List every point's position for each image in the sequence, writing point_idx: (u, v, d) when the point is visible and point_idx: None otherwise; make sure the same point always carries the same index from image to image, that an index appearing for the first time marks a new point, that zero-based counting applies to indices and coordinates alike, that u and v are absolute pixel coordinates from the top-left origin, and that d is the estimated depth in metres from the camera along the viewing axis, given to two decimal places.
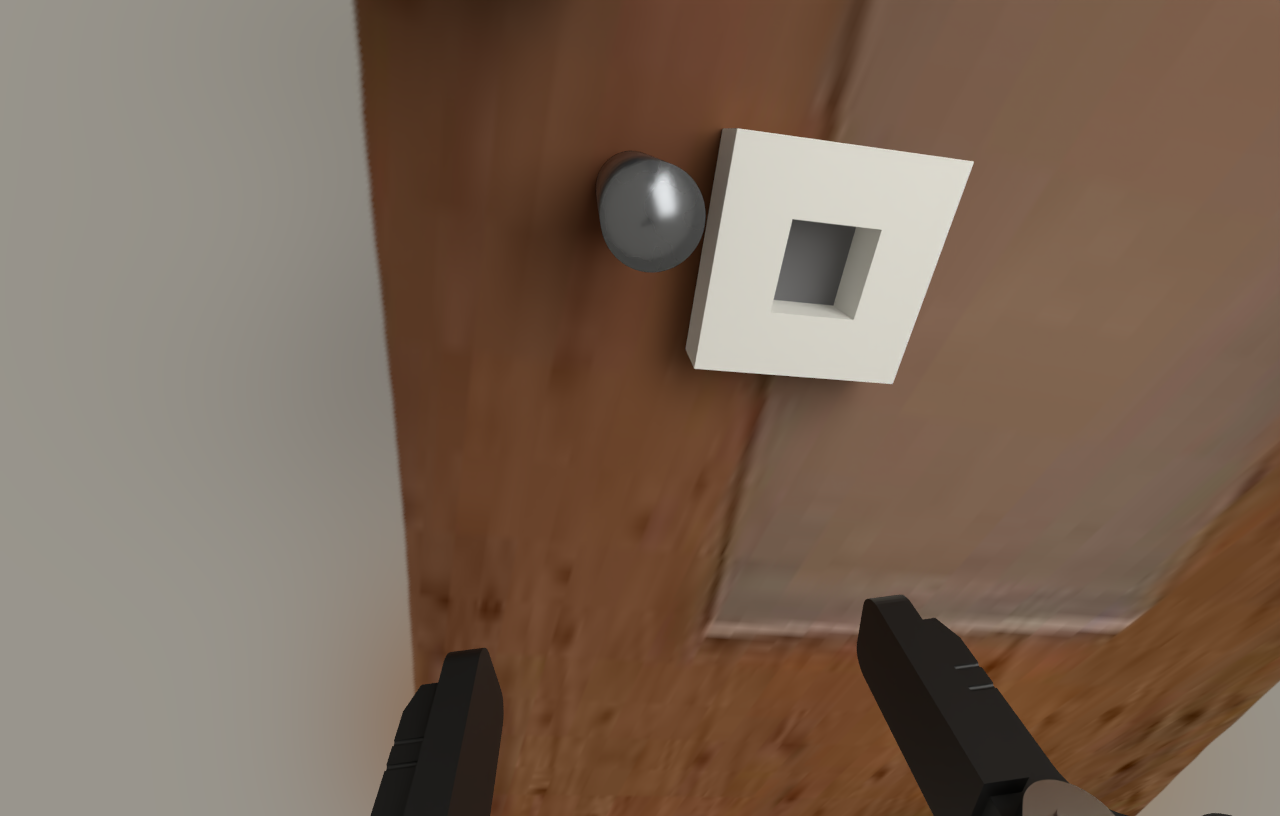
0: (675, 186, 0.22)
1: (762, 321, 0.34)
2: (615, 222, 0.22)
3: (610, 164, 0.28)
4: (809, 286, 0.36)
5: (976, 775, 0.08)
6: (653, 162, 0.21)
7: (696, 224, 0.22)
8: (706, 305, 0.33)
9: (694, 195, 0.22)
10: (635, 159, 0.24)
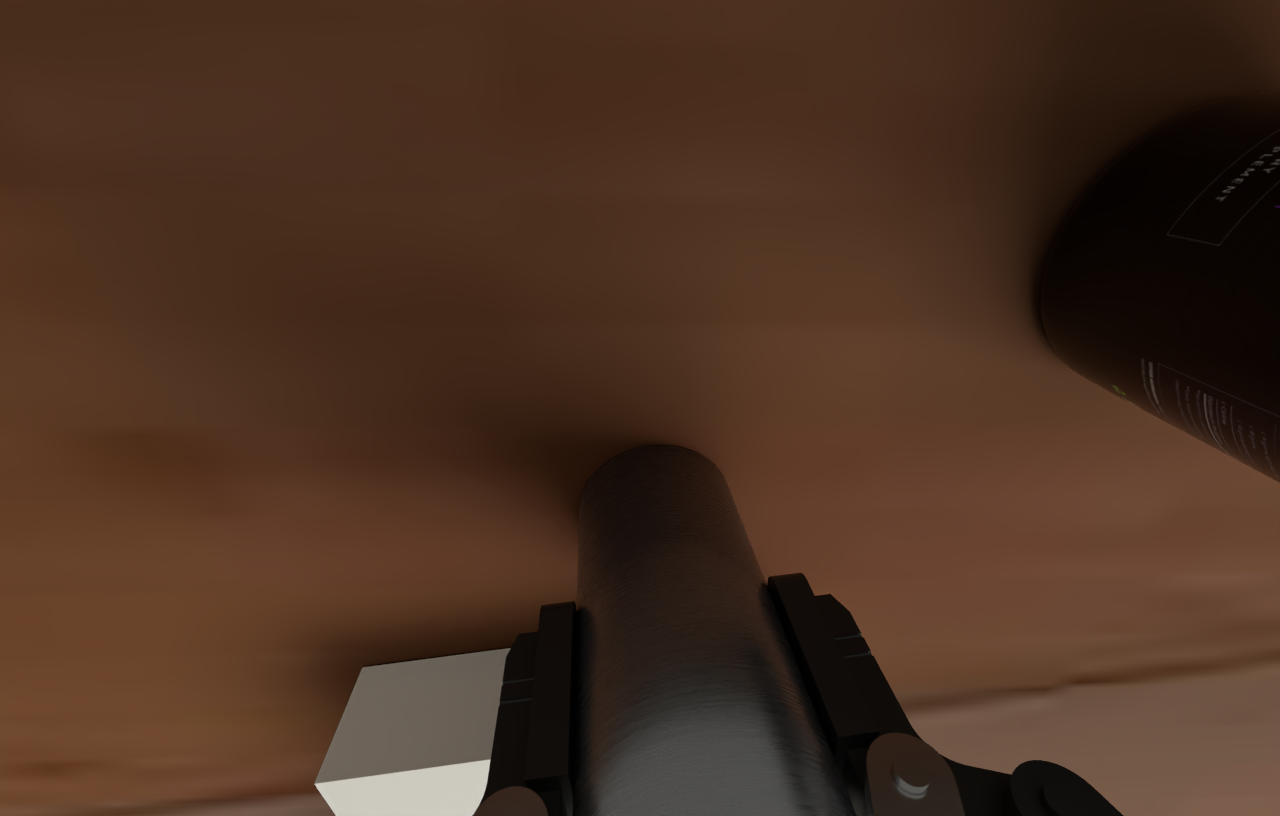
0: None
1: None
2: None
3: (744, 568, 0.11)
4: None
5: (834, 730, 0.09)
6: None
7: None
8: (474, 762, 0.15)
9: None
10: None
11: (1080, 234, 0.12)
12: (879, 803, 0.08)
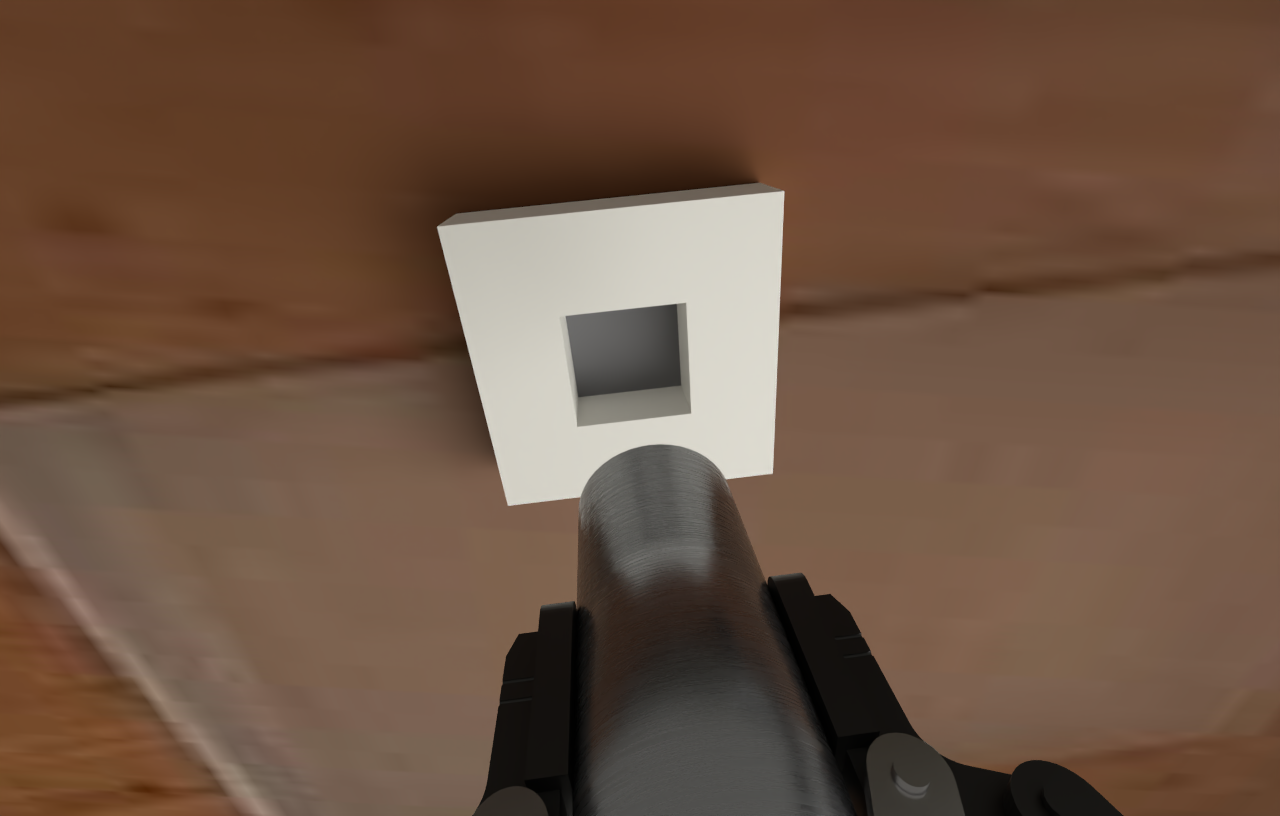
0: None
1: (543, 309, 0.23)
2: None
3: (744, 567, 0.11)
4: (594, 359, 0.28)
5: (834, 730, 0.09)
6: None
7: None
8: (544, 216, 0.21)
9: None
10: None
11: None
12: (879, 803, 0.08)
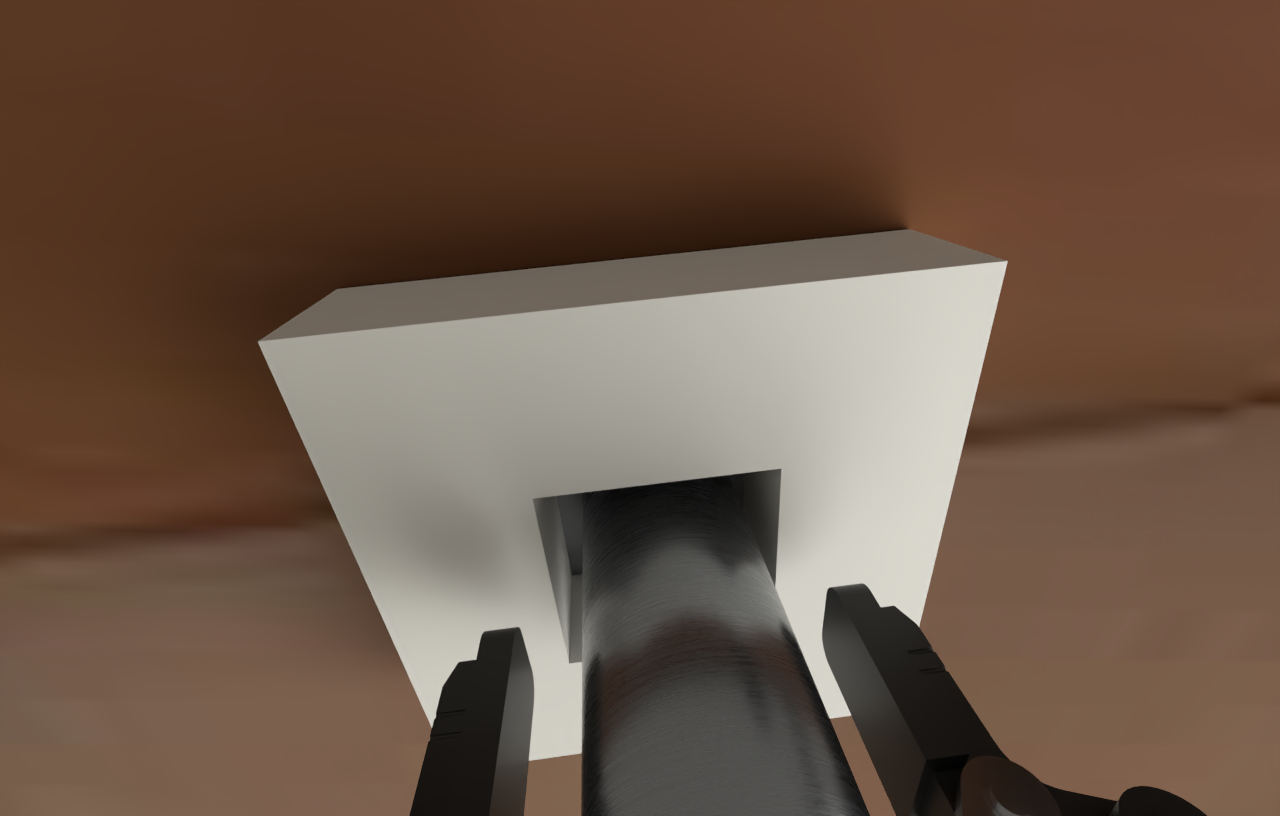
0: None
1: (499, 488, 0.12)
2: None
3: (742, 542, 0.12)
4: None
5: (920, 752, 0.08)
6: None
7: None
8: (495, 318, 0.10)
9: None
10: None
11: None
12: None
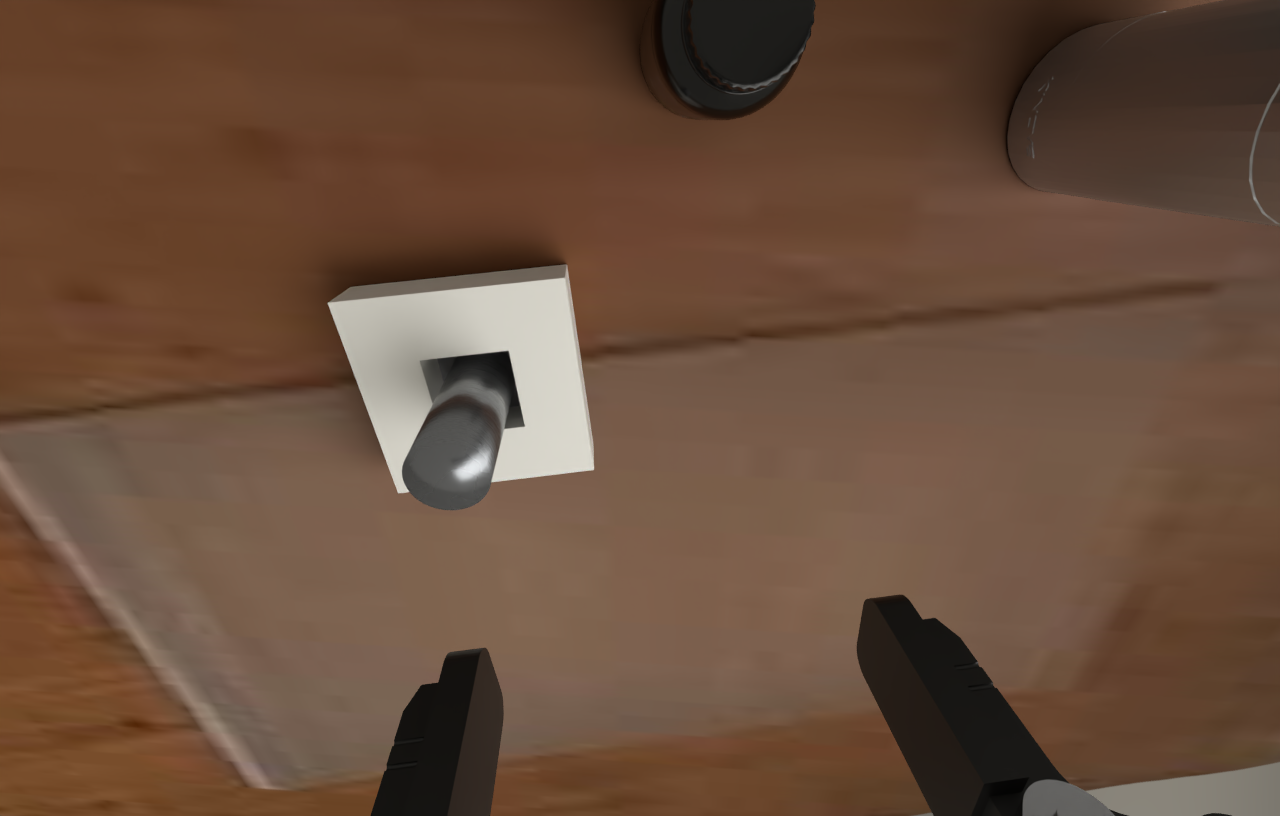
0: (476, 485, 0.28)
1: (407, 356, 0.33)
2: (433, 452, 0.27)
3: (493, 378, 0.33)
4: None
5: (976, 775, 0.08)
6: (488, 468, 0.27)
7: (454, 504, 0.28)
8: (400, 295, 0.32)
9: (474, 498, 0.28)
10: (492, 432, 0.29)
11: None
12: None
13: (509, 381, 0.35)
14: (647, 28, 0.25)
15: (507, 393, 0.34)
